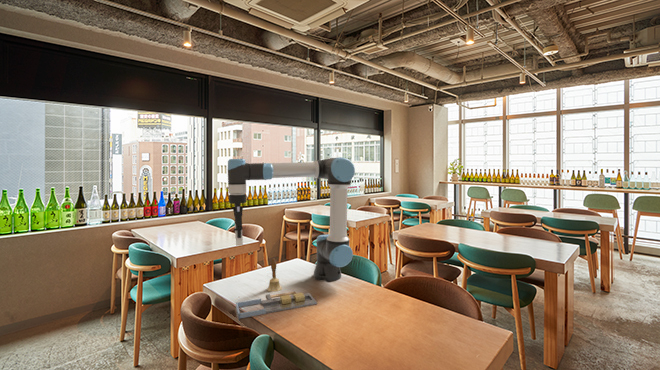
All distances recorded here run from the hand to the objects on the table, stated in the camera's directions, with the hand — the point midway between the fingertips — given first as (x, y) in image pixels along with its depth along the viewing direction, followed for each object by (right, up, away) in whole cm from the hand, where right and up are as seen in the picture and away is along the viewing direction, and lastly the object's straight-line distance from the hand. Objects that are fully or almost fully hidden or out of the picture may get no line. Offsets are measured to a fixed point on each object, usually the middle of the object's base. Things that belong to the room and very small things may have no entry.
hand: (238, 241), depth 138 cm
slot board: (+23, -27, -3) cm, 36 cm away
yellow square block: (+27, -26, -1) cm, 38 cm away
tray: (+7, -28, -9) cm, 30 cm away
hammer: (+19, -27, +6) cm, 33 cm away
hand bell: (+13, -27, +13) cm, 33 cm away
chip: (+21, -26, -3) cm, 34 cm away
